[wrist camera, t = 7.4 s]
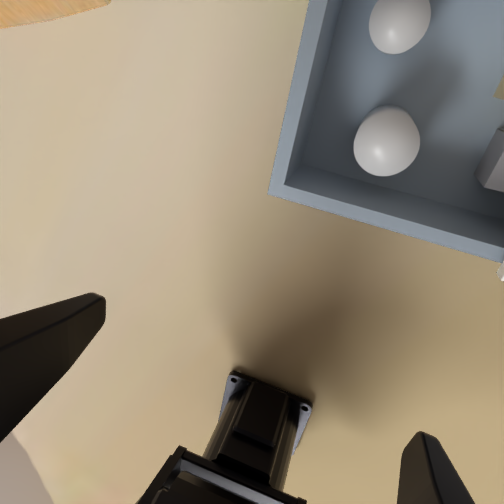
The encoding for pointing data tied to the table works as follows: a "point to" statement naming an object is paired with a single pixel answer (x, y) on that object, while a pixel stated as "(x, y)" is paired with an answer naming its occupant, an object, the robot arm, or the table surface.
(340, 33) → the tub
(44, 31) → the table surface
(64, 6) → the sandwich container
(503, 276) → the lid
